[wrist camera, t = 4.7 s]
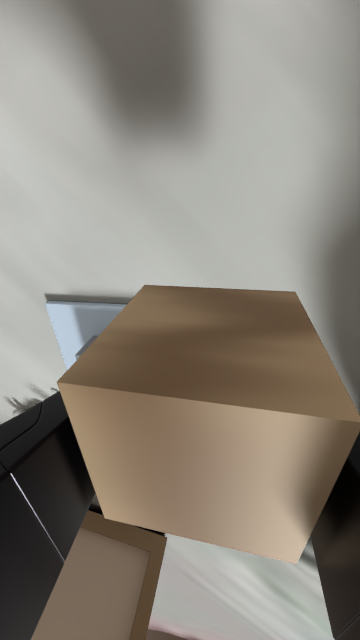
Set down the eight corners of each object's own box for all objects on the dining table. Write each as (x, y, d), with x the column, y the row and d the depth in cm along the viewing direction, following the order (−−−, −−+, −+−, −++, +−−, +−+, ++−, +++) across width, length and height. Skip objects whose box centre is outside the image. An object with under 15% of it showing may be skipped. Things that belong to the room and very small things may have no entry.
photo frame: (42, 486, 41) (-165, 815, 20) (168, 529, 40) (88, 935, 18) (49, 522, 49) (-96, 787, 28) (155, 560, 47) (87, 870, 26)
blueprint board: (229, 308, 19) (229, 312, 19) (223, 429, 26) (222, 434, 26) (49, 300, 23) (44, 303, 22) (84, 410, 29) (81, 414, 29)
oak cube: (295, 291, 8) (364, 422, 4) (271, 404, 10) (296, 564, 6) (144, 284, 9) (57, 381, 5) (155, 389, 11) (104, 518, 7)
